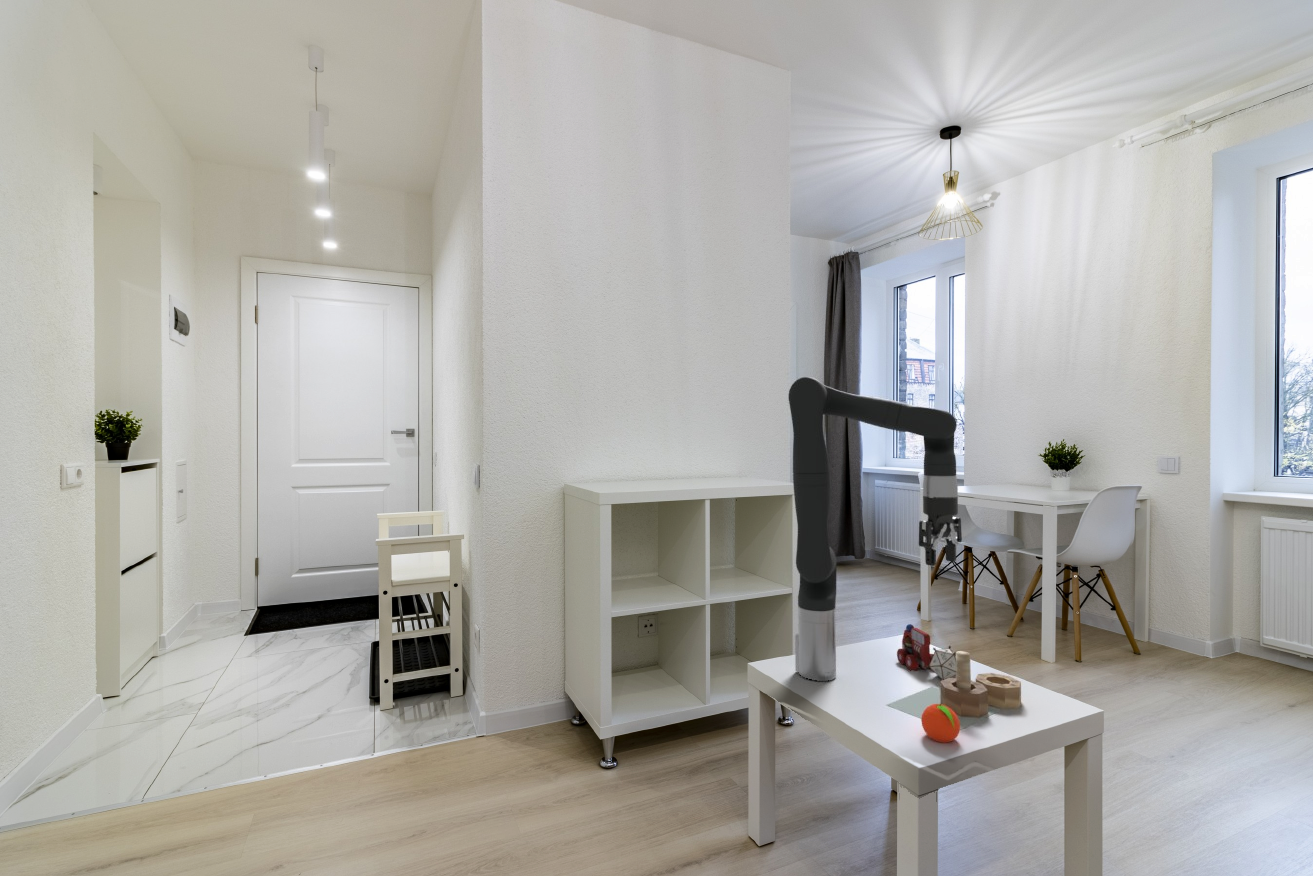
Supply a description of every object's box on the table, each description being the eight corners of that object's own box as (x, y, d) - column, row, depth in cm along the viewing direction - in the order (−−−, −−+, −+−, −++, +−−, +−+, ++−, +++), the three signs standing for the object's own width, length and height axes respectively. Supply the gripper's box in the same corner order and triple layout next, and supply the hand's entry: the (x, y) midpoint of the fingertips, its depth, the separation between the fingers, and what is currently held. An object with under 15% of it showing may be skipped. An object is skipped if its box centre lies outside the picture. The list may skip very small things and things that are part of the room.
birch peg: (954, 708, 135) (953, 652, 135) (961, 705, 137) (960, 650, 137) (966, 712, 133) (965, 656, 133) (973, 709, 134) (972, 653, 135)
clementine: (971, 750, 117) (971, 713, 117) (937, 753, 116) (937, 715, 117) (946, 731, 125) (946, 696, 125) (914, 734, 124) (914, 698, 124)
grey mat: (886, 707, 137) (886, 704, 137) (932, 689, 147) (932, 686, 147) (956, 735, 124) (956, 732, 124) (1001, 712, 134) (1001, 709, 134)
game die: (955, 698, 151) (974, 674, 145) (920, 683, 153) (938, 659, 147) (953, 669, 158) (972, 645, 153) (920, 655, 160) (937, 631, 154)
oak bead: (974, 704, 138) (973, 682, 138) (979, 692, 145) (979, 670, 145) (1018, 714, 133) (1018, 690, 133) (1022, 700, 140) (1021, 678, 140)
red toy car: (917, 658, 169) (917, 620, 169) (941, 675, 157) (941, 633, 157) (893, 659, 168) (892, 620, 169) (915, 675, 156) (914, 634, 156)
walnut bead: (934, 706, 136) (933, 683, 136) (955, 697, 141) (955, 675, 141) (972, 720, 129) (972, 696, 129) (993, 710, 134) (993, 687, 134)
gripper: (941, 492, 154) (942, 557, 154) (908, 495, 146) (908, 564, 146) (971, 494, 148) (972, 562, 148) (938, 497, 140) (939, 569, 139)
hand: (940, 563), depth 147 cm, fingers open, 8 cm apart
